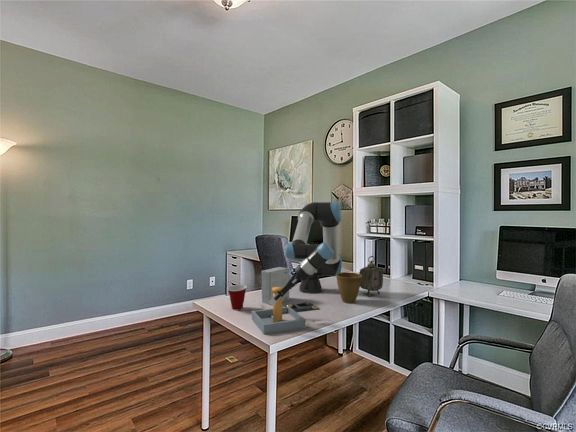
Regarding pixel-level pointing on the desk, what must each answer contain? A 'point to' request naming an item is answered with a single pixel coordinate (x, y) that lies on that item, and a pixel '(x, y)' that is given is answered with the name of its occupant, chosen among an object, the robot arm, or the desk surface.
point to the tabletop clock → (371, 277)
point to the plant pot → (348, 286)
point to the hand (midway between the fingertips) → (274, 299)
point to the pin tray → (268, 326)
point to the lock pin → (277, 306)
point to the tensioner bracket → (302, 307)
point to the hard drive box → (274, 282)
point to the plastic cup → (237, 296)
